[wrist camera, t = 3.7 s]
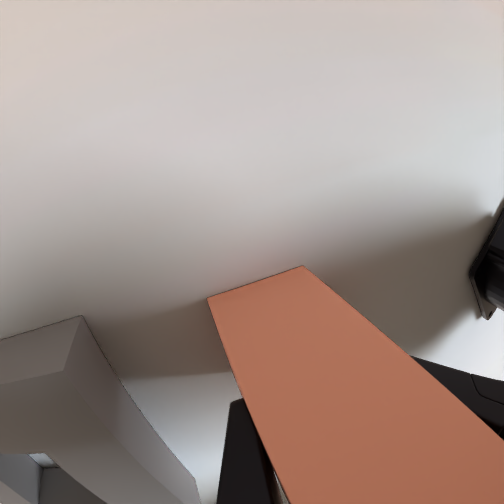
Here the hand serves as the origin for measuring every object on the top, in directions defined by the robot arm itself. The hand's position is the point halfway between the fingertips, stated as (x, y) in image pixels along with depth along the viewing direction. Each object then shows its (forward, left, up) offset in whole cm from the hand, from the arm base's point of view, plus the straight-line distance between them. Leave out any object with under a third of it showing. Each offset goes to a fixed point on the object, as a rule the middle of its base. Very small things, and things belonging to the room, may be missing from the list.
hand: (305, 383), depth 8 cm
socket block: (+4, +12, -4) cm, 13 cm away
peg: (0, 0, -4) cm, 4 cm away
